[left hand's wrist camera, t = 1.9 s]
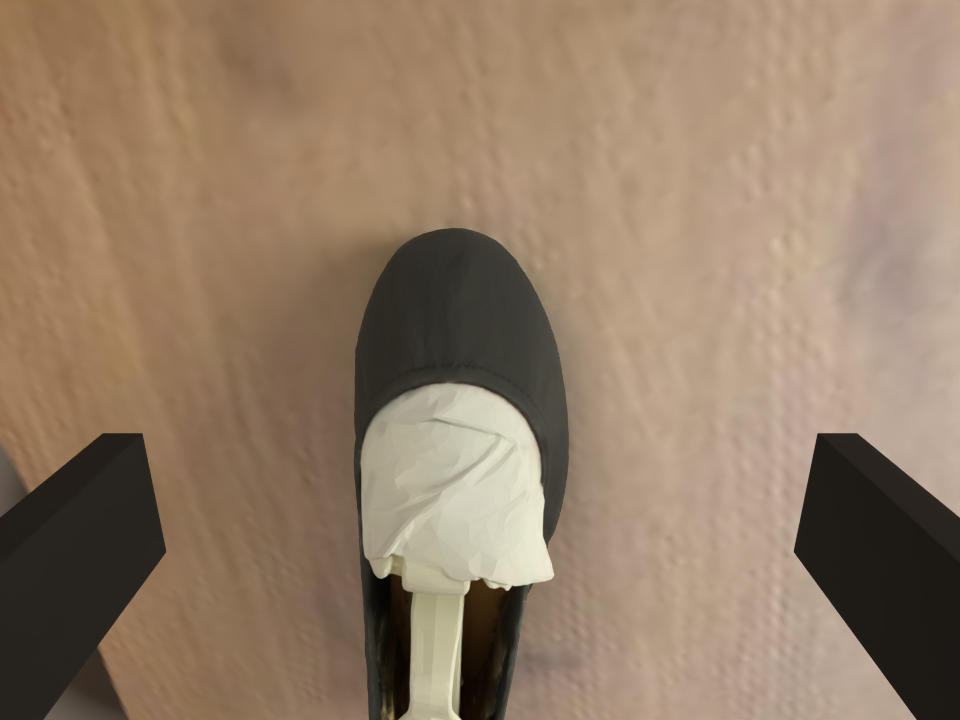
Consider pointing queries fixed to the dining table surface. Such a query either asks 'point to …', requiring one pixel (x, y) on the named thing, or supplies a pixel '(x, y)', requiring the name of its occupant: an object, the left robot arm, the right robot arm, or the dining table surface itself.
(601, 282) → the dining table surface
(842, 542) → the left robot arm
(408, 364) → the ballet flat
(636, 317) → the dining table surface
